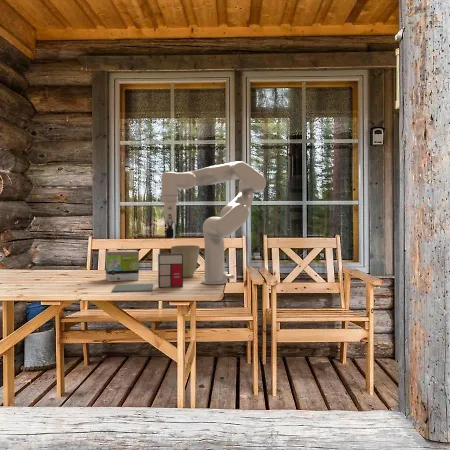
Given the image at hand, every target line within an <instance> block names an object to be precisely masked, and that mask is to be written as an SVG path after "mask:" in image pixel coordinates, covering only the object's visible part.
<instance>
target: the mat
mask: <svg viewBox="0 0 450 450" xmlns="http://www.w3.org/2000/svg"><path fill="white" fill-rule="evenodd" d="M153 288H154V283H128V284H127V283H125V284H123V283H122V284H115V286H114V287H113V288H112V290H111V293H133V292H134V293H135V292H136V293H138V292H139V293H141V292H153Z"/></svg>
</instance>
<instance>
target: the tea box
mask: <svg viewBox="0 0 450 450" xmlns="http://www.w3.org/2000/svg"><path fill="white" fill-rule="evenodd" d="M139 259H140V252H139V251H138V250H137V249H112V250H109V249H108V250H105V279H106V280H107V282H118V281H119V282H120V281H123V282H124V281H125V282H126V281H127V282H128V281H139V276H140V275H139V273H140V269H139V267H140V266H139V263H140V260H139Z"/></svg>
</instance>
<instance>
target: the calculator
mask: <svg viewBox="0 0 450 450" xmlns="http://www.w3.org/2000/svg"><path fill="white" fill-rule="evenodd" d="M157 263H158V264H157V265H158V267H157V270H158V273H157V274H158V275H157V277H158V279H157V280H158V288H159V289H160V288H161V289H163V288H165V287H168V288H183V287H184V277H183V254H172V253H158V254H157Z"/></svg>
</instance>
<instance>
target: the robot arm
mask: <svg viewBox="0 0 450 450" xmlns="http://www.w3.org/2000/svg"><path fill="white" fill-rule="evenodd" d="M235 180H236V181H237V180H239V182H238V194H237V195H236V196H235V197H234V198H233V199H232V200H231V201H229V202H228V203H226V205H225V206H224V207H222V209H221V210H220V214H219V216H210V217H208V218H206V219H205V220H204V222H203V224H202V233H203V238H204V239H203V240H204V241H203V242H204V278H202V279H201V280H200V281H201V283H202V284H205V285H223V284H227V283H228V280H229V279H232V280H233V279H235V274H227V273H226V272H225V241H224V238H228V237H230V236H231V235H232V234H234V233H235V232H236V231H237V230H239V229H240V228H241V227H242V226H243V225H244V224H245V223H246V222H247V220H248V218H249V214H250V212H249V208H250V207H251V206H252V204H253V202H254V201H253V200H254V194H253V193H260V192H263V190H265V188H266V186H267V181H266V178H265V176H264V175H263V174H261V173H260V172H259V171H257V170H256V169H255V168H254V167H253V166H251V165H249V164H248V163H246V162H244V161H239V160H238V161H232V162H228V163H224V164H223V163H222V164H217V165H210V166H207V167H204V168H200V169H196V170H190V171H186V172H175V171H165V172H163V173H162V174H161V203H162V204H164V205H163V207H164V208H163V209H164V224H165V225H166V228H165V229H166V231H165V235H166V236H165V238H166V239H174V234H175V232H174V225H177V204H178V203H179V190H188V189H192V188H194V187H199V186H210V185H215V184H216V185H217V184H221V183H225V182H226V183H227V182H231V181H235Z"/></svg>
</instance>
